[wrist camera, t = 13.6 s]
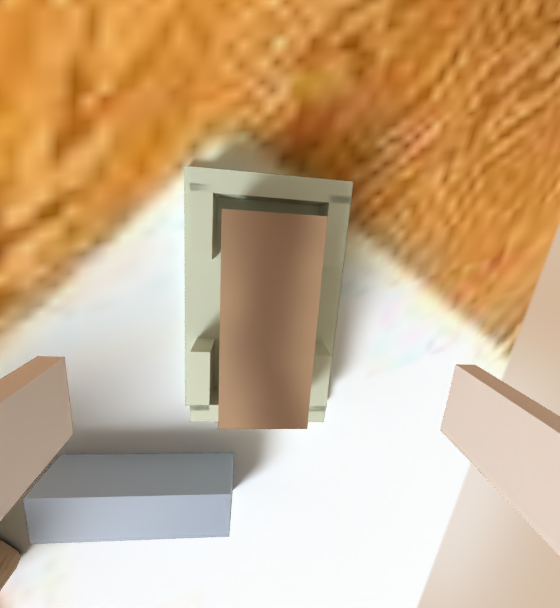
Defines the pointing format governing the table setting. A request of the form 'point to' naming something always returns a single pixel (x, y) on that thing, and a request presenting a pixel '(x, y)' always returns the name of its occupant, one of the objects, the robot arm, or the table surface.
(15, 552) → the wooden block
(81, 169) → the table surface
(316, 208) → the jig
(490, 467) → the robot arm
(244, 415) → the brown rectangular block
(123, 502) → the blue-grey rectangular prism
